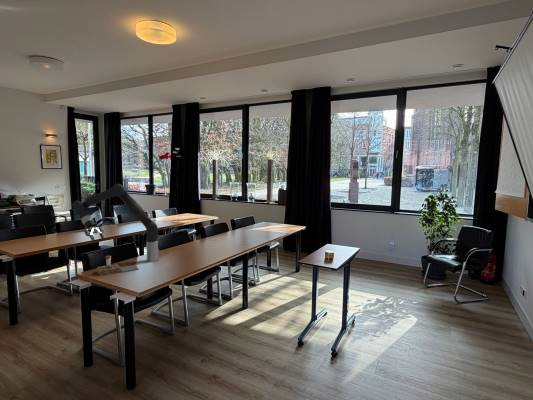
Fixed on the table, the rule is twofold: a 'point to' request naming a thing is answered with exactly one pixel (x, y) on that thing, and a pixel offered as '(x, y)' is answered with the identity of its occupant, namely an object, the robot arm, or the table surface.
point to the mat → (128, 268)
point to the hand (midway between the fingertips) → (98, 239)
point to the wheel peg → (108, 261)
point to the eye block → (108, 270)
